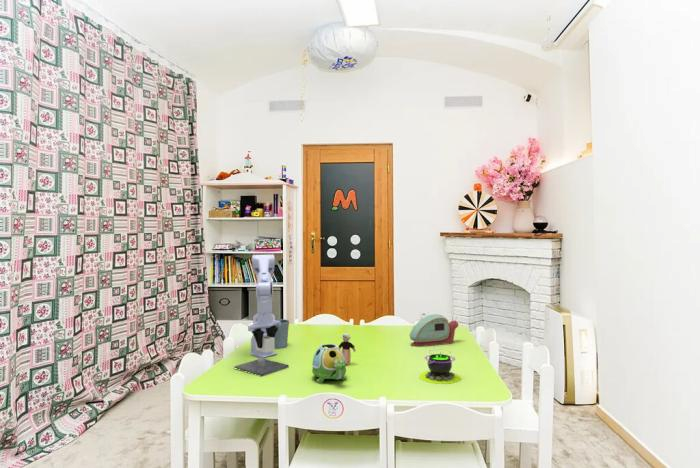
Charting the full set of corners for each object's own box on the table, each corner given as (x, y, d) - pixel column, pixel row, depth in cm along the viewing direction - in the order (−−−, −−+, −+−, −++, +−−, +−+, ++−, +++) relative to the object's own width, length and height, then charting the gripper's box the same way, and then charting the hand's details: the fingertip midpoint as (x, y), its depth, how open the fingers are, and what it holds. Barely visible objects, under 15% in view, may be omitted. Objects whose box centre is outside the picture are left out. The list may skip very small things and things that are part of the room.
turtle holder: (324, 390, 157) (323, 355, 157) (307, 375, 173) (307, 343, 173) (357, 385, 162) (357, 351, 162) (338, 370, 178) (337, 340, 178)
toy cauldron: (431, 369, 180) (431, 340, 180) (467, 376, 171) (467, 346, 171) (411, 378, 168) (411, 348, 168) (449, 387, 159) (449, 355, 159)
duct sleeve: (274, 350, 183) (274, 337, 183) (265, 352, 179) (265, 339, 179) (264, 347, 187) (264, 335, 187) (255, 349, 184) (255, 337, 184)
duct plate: (234, 368, 182) (234, 358, 182) (261, 360, 193) (261, 351, 193) (261, 376, 172) (261, 365, 172) (288, 367, 183) (288, 357, 183)
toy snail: (414, 347, 213) (413, 317, 212) (407, 343, 220) (407, 314, 220) (462, 343, 220) (461, 314, 220) (454, 339, 227) (453, 311, 227)
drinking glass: (263, 348, 214) (263, 322, 214) (273, 343, 223) (273, 318, 223) (283, 349, 211) (283, 323, 211) (292, 344, 220) (292, 319, 220)
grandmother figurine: (336, 365, 186) (336, 333, 186) (338, 362, 189) (337, 331, 189) (355, 365, 185) (355, 334, 184) (356, 363, 188) (356, 332, 188)
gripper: (255, 316, 175) (255, 351, 175) (285, 311, 186) (285, 344, 186) (244, 313, 180) (245, 348, 180) (274, 309, 191) (274, 341, 191)
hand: (265, 346), depth 183 cm, fingers closed on duct sleeve, 4 cm apart
